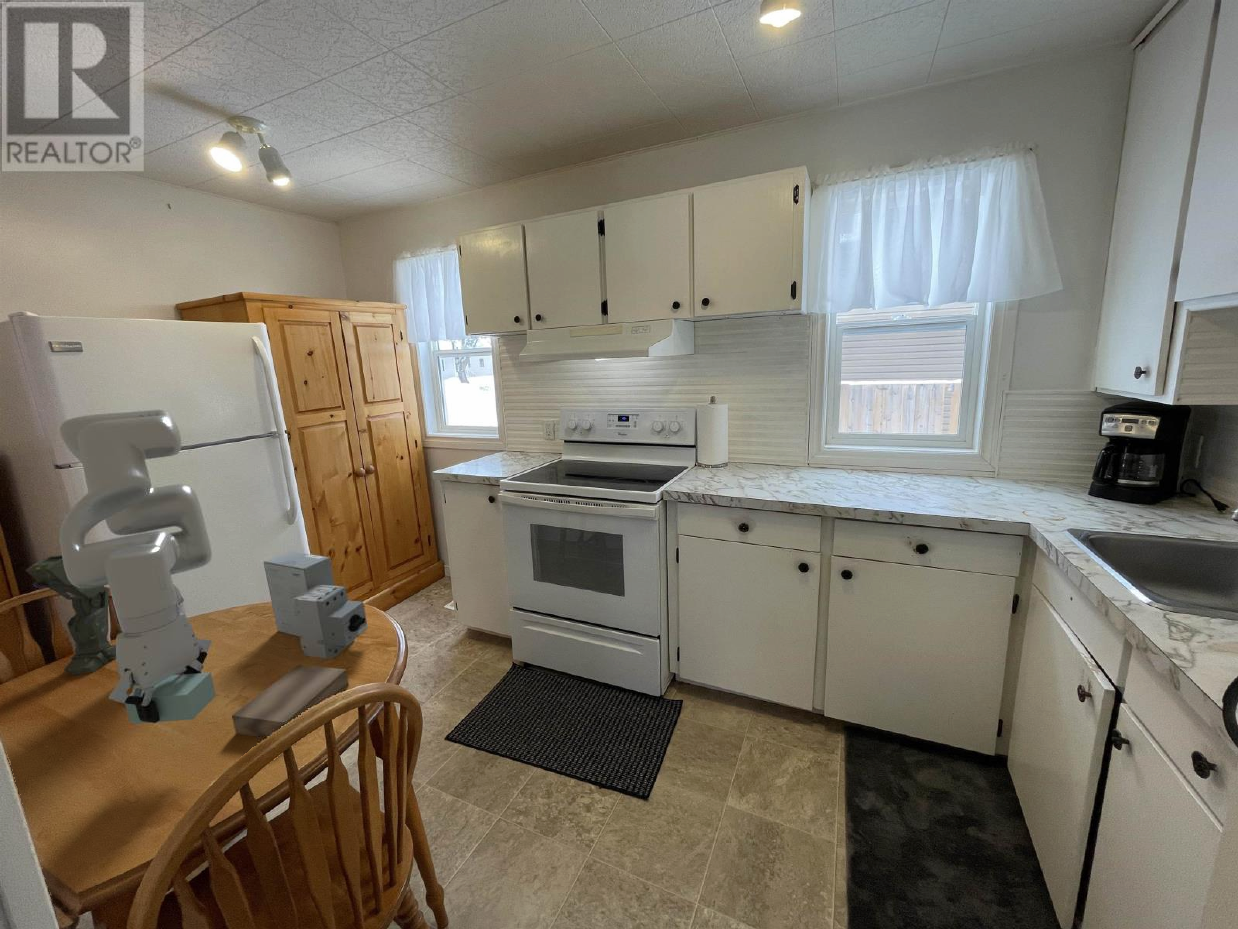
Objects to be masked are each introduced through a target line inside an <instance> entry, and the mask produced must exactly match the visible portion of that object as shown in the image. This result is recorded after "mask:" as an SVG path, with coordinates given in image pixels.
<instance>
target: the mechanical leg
mask: <svg viewBox="0 0 1238 929" xmlns="http://www.w3.org/2000/svg"><path fill="white" fill-rule="evenodd" d="M25 572H26V573H28V574H29V575H30V576H31V577H32V578H33V579H34V580H36V582H34V583H33V584H32V586H33V587H34V588H47V589H49V590H52V591H54V592H55V593H57V594H58V595H60V596H62V597H63V598H64V599H66V600H69V601H70V600H71V605H72V609H73V610H74V613H75V614H74V615H73V616H71V617H70V619H69V620H68V622H67V623H66V625H67V628H68V631H69V634H70V637H72V640H73V642H74V643H75V648H74V655H72V657H70V660H71V661H70V662H69V663H68V664H67V665H66V666H65V668H64V669H63V671H64V672H65V675H67V676H70V675H73V676H74V675H84V674H85V675H86V674H92V673H93V672H96V671H97V670H98V669H99V668H101V667H102V666H104V665H106V664H108V663H109V662H110V661H112V660H115V659H117V657H116V644H114V645H113V644H110V641H109V640H108V635H109V632H110V631H109V601H110V600H109V598H110V596H109V590H108V589H107V588H105V585H104V586H99V587H95V588H87V589H84V588H78V587H76V586H74V585H73V584H72V583H71V582H70V581H69V580H68V578H67V576H66V573H65V569H64V564H63V559H62V554H59V555H58V554H57V555H55V554H54V555H48V556H46V557H43V558H42V559H40V560H39V561H37V562H35V563H34V564H32V565H31V566H29V567H28V568H26V569H25Z"/></svg>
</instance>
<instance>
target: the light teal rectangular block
mask: <svg viewBox="0 0 1238 929" xmlns="http://www.w3.org/2000/svg"><path fill="white" fill-rule="evenodd" d="M211 673H212V672H201V673H197V674H183V673H181V674H178V675H172V676H170V677H168V678H167V679H165V680H163V681H162V682H160V683H159V684H157V685H155V686H154V690H153V693H152V697H151V701H155V703H156V706H157V710H158V713H159V717H160V720H159V721H158V722H157V723H160V722H161V723H162V722H163V723H164V722H165V723H166V722H174V721H176V722H177V721H190V720H191V721H192V720H194V719H195V718H197V716H198V715H199V714H200V713H201V712H202V711H203V710H204V709H206V707H207V706H208V705H209V704H210V702H212V701H213V700H214V699H215V697H217V694H216V689H215V686H214V682H213V678H212V674H211ZM143 691H144V690H142V694H143ZM142 694H141V697H142ZM129 695H132V692H131V693H130V694H129ZM124 704H125V703H124ZM124 706H125V709H126V712H127V715H128V718H129V722H130V724H131V725H137V724H149V723H150V722H144V721H141V720H140V719H139V716H138V713H137V709H136V706H135V705H133V704H125V705H124Z"/></svg>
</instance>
